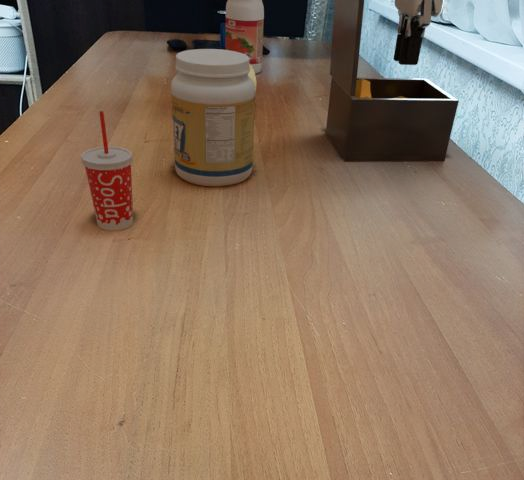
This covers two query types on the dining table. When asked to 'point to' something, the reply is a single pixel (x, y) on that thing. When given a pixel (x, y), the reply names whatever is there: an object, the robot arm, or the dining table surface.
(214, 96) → the supplement tub
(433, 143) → the chest
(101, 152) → the beverage cup
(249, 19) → the fruit juice
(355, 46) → the chest lid
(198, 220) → the dining table surface
